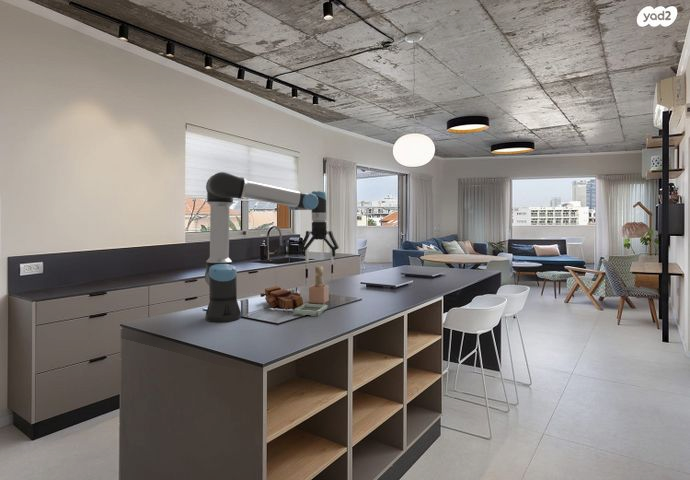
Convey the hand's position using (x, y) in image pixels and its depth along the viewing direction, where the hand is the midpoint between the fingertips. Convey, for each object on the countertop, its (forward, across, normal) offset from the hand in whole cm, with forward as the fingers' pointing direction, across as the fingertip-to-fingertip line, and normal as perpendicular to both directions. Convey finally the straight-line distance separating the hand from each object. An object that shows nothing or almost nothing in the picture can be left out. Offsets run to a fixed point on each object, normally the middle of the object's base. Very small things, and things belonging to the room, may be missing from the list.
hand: (319, 262), depth 220 cm
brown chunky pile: (+21, -16, -12) cm, 29 cm away
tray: (+21, +3, -20) cm, 29 cm away
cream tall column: (+20, 0, 0) cm, 20 cm away
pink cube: (+21, 0, 0) cm, 21 cm away
